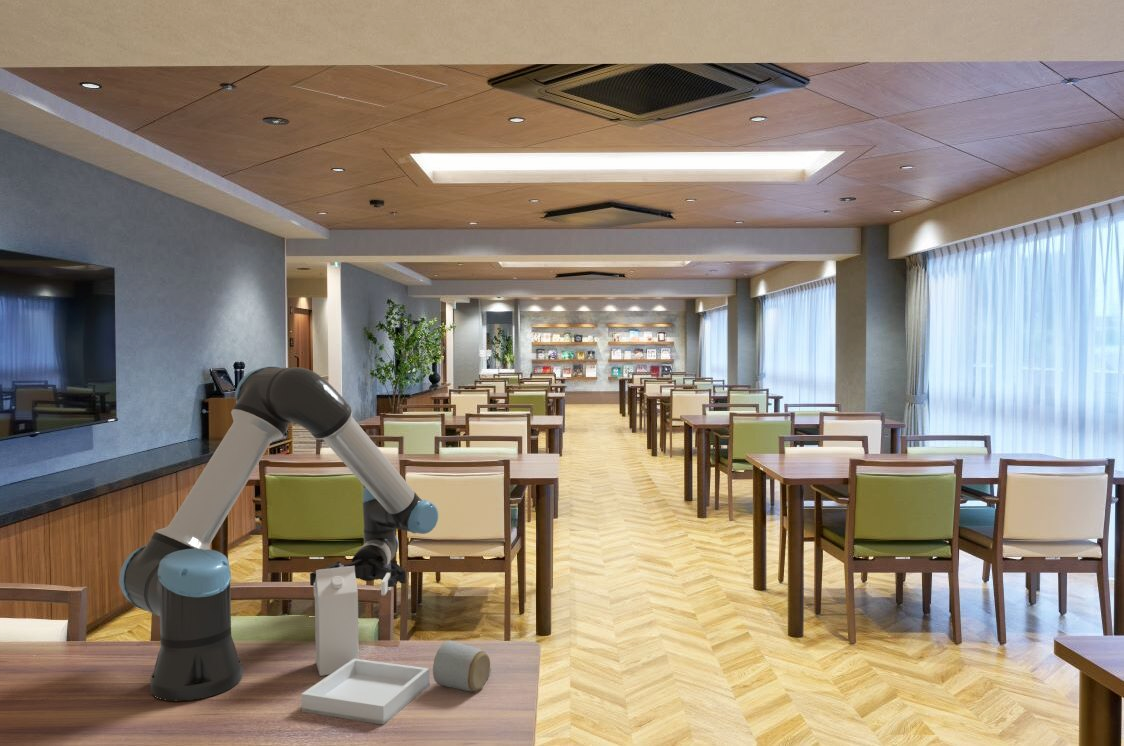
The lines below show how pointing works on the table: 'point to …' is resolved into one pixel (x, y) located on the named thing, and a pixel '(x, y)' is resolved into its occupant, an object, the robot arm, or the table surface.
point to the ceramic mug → (461, 666)
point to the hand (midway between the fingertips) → (349, 589)
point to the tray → (366, 691)
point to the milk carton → (336, 618)
